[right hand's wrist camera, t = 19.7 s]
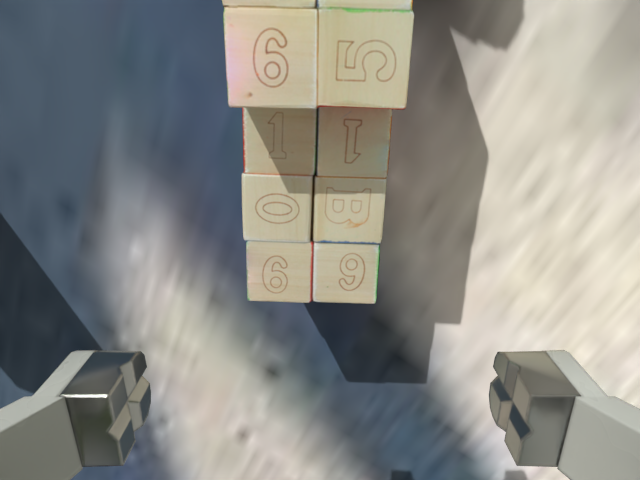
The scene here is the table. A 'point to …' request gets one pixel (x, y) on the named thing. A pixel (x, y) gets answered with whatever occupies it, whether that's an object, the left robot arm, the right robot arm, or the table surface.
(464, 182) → the table surface
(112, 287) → the table surface
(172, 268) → the table surface
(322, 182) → the stack of blocks
